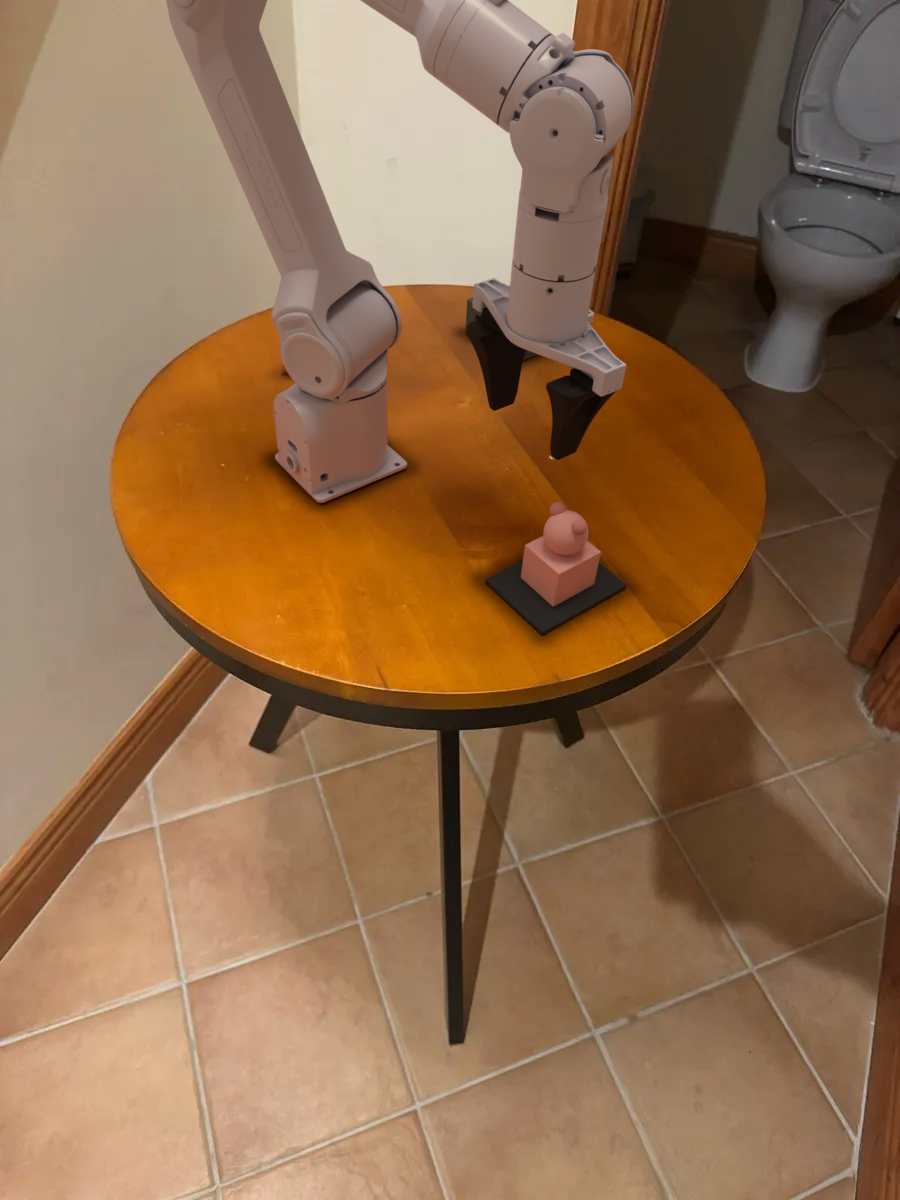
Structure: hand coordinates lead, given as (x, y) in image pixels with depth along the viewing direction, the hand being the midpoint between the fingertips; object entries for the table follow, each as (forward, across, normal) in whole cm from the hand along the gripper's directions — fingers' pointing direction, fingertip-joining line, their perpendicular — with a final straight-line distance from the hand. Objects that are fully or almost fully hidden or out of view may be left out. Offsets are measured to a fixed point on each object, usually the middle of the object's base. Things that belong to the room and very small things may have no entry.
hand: (531, 429), depth 71 cm
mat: (+10, -8, +2) cm, 13 cm away
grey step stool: (+10, +24, -18) cm, 32 cm away
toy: (+9, -8, +2) cm, 12 cm away
